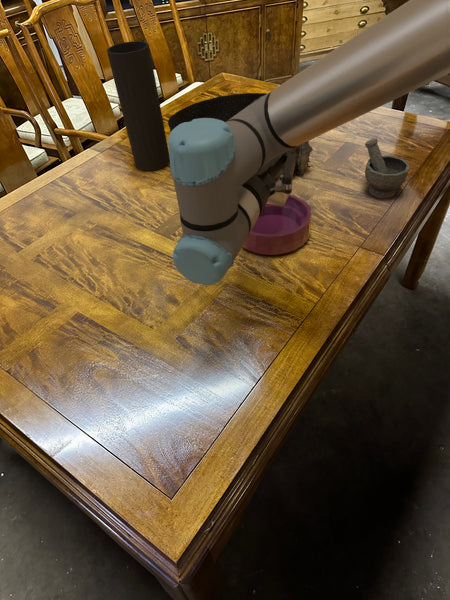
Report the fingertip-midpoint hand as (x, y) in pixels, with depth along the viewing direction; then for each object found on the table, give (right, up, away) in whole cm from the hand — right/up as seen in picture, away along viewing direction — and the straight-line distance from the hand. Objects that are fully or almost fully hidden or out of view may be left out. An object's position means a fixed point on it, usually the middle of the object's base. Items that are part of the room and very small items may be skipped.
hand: (280, 137), depth 78 cm
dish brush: (-1, -10, +3) cm, 11 cm away
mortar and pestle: (+27, -4, +24) cm, 37 cm away
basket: (-6, +4, +36) cm, 37 cm away
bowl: (0, -16, +15) cm, 22 cm away
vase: (-32, +10, +44) cm, 55 cm away
